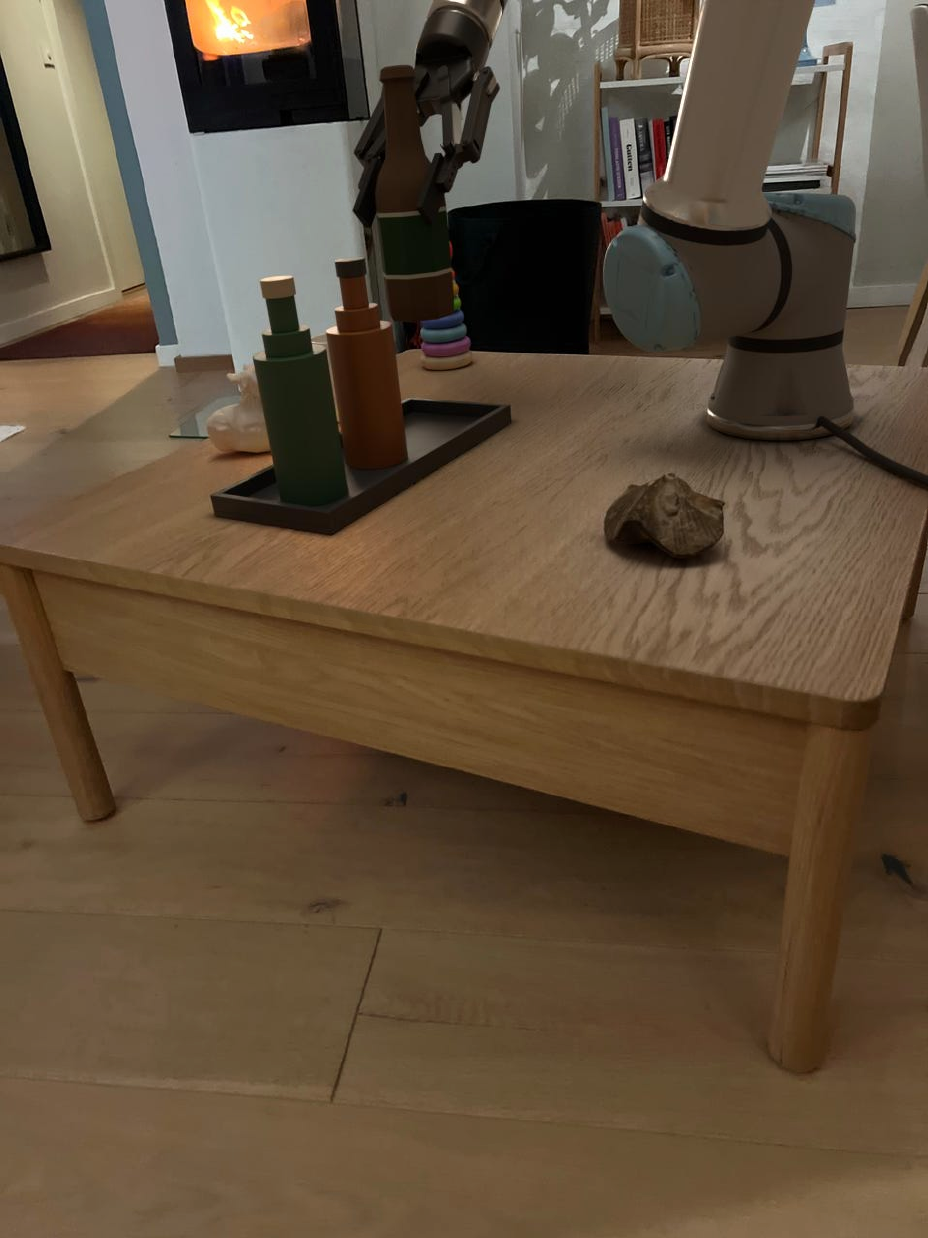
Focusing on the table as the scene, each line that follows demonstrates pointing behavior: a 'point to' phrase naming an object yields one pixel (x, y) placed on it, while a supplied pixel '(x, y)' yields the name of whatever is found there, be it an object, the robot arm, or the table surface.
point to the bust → (241, 418)
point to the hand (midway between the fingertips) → (392, 217)
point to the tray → (430, 444)
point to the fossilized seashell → (666, 517)
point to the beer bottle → (409, 212)
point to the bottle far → (298, 403)
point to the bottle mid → (365, 375)
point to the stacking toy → (446, 338)
